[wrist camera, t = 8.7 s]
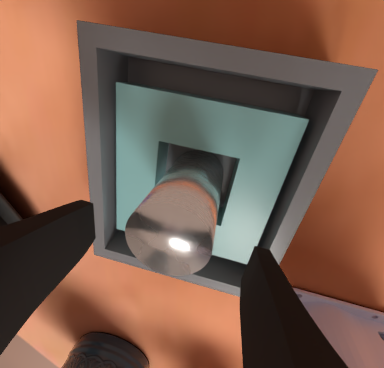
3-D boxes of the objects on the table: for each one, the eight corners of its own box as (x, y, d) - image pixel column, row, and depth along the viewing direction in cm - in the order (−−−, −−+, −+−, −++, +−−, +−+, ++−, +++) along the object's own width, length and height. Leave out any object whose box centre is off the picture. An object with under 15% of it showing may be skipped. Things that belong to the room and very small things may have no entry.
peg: (229, 156, 15) (222, 218, 8) (216, 202, 17) (202, 285, 10) (177, 144, 15) (126, 192, 8) (170, 190, 17) (123, 262, 10)
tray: (333, 75, 13) (378, 69, 9) (255, 259, 20) (260, 302, 16) (121, 39, 14) (76, 19, 10) (120, 223, 21) (94, 254, 17)
